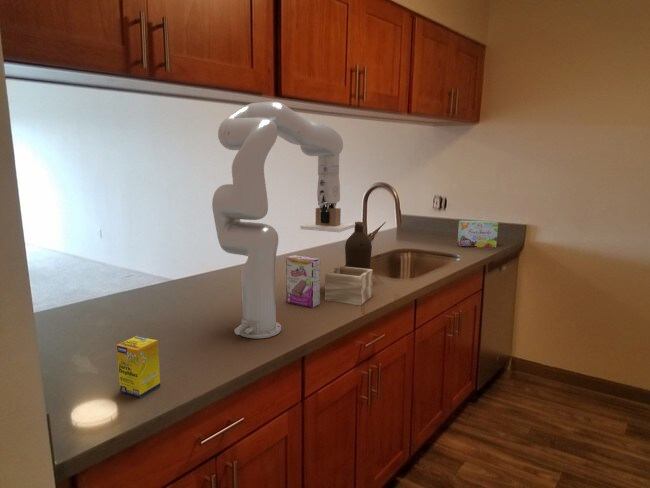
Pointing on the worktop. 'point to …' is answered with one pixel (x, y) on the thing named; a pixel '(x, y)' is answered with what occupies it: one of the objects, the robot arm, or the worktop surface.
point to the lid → (333, 223)
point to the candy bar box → (303, 281)
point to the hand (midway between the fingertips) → (327, 221)
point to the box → (348, 285)
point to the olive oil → (358, 249)
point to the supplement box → (138, 366)
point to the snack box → (477, 233)
